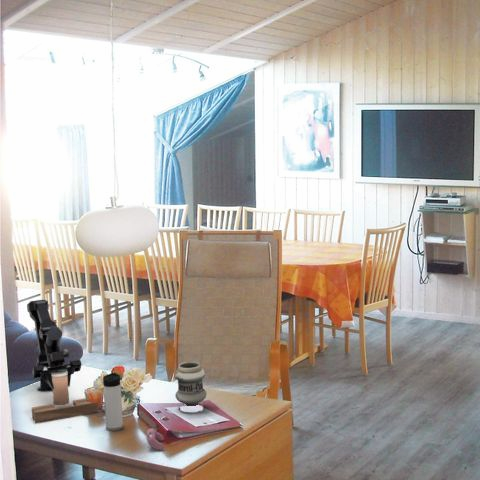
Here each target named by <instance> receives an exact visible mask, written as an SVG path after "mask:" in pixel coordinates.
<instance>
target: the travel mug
mask: <svg viewBox="0 0 480 480" xmlns="http://www.w3.org/2000/svg"><path fill="white" fill-rule="evenodd" d="M102 381H103V382H102V383H103V401H104V402H103V403H104V416H105V418H104V419H105V420H104V421H105V429H106V430H107V431H109V432H110V431H112V432H116V431H120V430H122V429H123V427H124V421H123V420H124V417H123V403H122V386H121V375H120V374H118V373H116V372H110V373H108V374H105V375H104V376H103V377H102Z"/></svg>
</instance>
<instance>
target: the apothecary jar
mask: <svg viewBox="0 0 480 480" xmlns="http://www.w3.org/2000/svg"><path fill="white" fill-rule="evenodd" d="M205 376H206V372H205V370H204V369H203V368H202V367H201V364H200V362H198V361H185V362H182V363H180V364H178V367H177V370H176V371H175V372H174V377H175V379H176V380H177V385H178V386H177V387H178V388H177V391H176V392H175V398H176V400H177V401H178V402H179V403H181V404H183V405H184V404H186V405H187V406H196V405H198V404H200V403H202V402H203V401H204V400H205V399H206V398H207V391H206V389H204V385H203V379H204V378H205Z"/></svg>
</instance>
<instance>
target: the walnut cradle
mask: <svg viewBox="0 0 480 480" xmlns="http://www.w3.org/2000/svg"><path fill="white" fill-rule="evenodd" d="M86 398H87V397H86ZM86 398H79V399H74V400H72V405H69V406H68V405H67V406H63V407H57V408H56V407H55V404H54V403H51V404H49V403H48V404H44V405H38V406H32V407H31V416H32V420H33V421H34V422H35V424H39V423H40V424H41V423H45V422H46V423H47V422H51V421H56V420H63V419H67V418H73V417H80V416H85V415H91V414H95V413H94V412H97V413H99V405H98V401H97V402H96V403H91V402H87V400H86Z"/></svg>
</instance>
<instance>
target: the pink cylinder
mask: <svg viewBox="0 0 480 480" xmlns="http://www.w3.org/2000/svg"><path fill="white" fill-rule="evenodd" d="M51 375H52V383H53V390H52V398H53V399H52V400H53V405H54V406H55V405H56V406H63V405H68V404H69V403H70V393H69V387H68V376H67V375H68V372H67V370H58V371H55V372H53V373H52V374H51Z"/></svg>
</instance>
